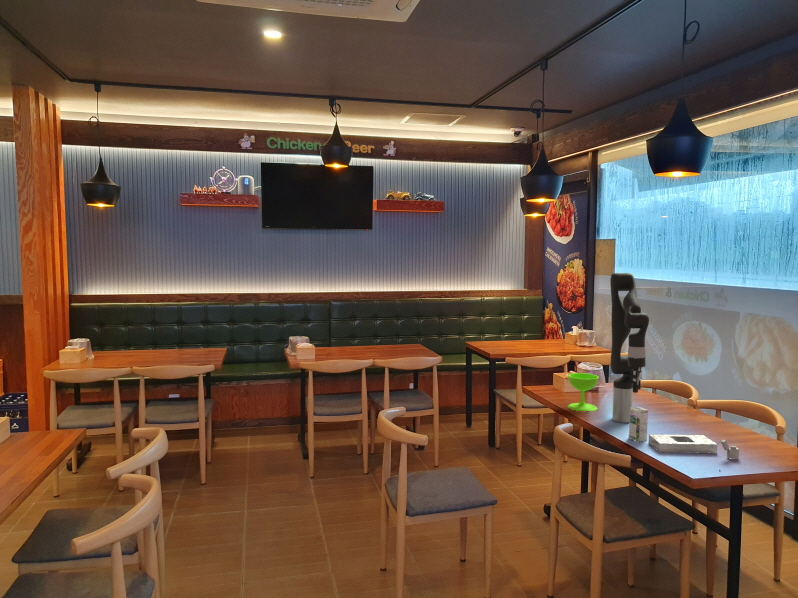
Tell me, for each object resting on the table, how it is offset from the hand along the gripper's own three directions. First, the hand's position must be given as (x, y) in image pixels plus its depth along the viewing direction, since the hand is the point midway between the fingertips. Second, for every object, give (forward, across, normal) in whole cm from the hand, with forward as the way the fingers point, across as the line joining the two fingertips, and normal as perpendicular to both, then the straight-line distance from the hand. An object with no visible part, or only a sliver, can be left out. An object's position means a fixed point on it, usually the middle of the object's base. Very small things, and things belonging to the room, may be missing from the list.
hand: (636, 390), depth 264 cm
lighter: (+23, +11, +37) cm, 45 cm away
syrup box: (+22, +4, +1) cm, 22 cm away
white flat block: (+22, +7, +19) cm, 30 cm away
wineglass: (+19, -37, -33) cm, 53 cm away
